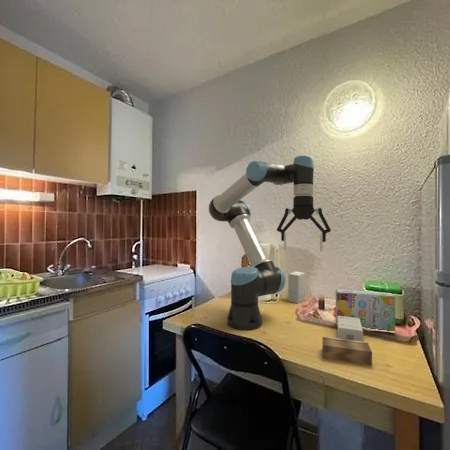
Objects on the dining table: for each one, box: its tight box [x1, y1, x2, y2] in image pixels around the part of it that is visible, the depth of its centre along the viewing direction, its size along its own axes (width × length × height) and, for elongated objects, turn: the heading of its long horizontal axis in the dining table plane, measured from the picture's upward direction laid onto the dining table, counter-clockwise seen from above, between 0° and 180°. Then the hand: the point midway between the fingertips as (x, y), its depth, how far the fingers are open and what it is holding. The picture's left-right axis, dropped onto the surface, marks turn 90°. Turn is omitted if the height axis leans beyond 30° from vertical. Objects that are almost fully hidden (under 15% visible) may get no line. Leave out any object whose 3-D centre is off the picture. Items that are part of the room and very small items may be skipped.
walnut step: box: [321, 336, 373, 366], centre depth 86 cm, size 14×6×4 cm, turn 72°
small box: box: [336, 316, 364, 342], centre depth 98 cm, size 8×6×13 cm
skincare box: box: [287, 270, 306, 304], centre depth 145 cm, size 8×7×16 cm
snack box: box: [335, 289, 396, 332], centre depth 108 cm, size 21×6×15 cm, turn 73°
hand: (302, 249), depth 104 cm, fingers open, 13 cm apart
